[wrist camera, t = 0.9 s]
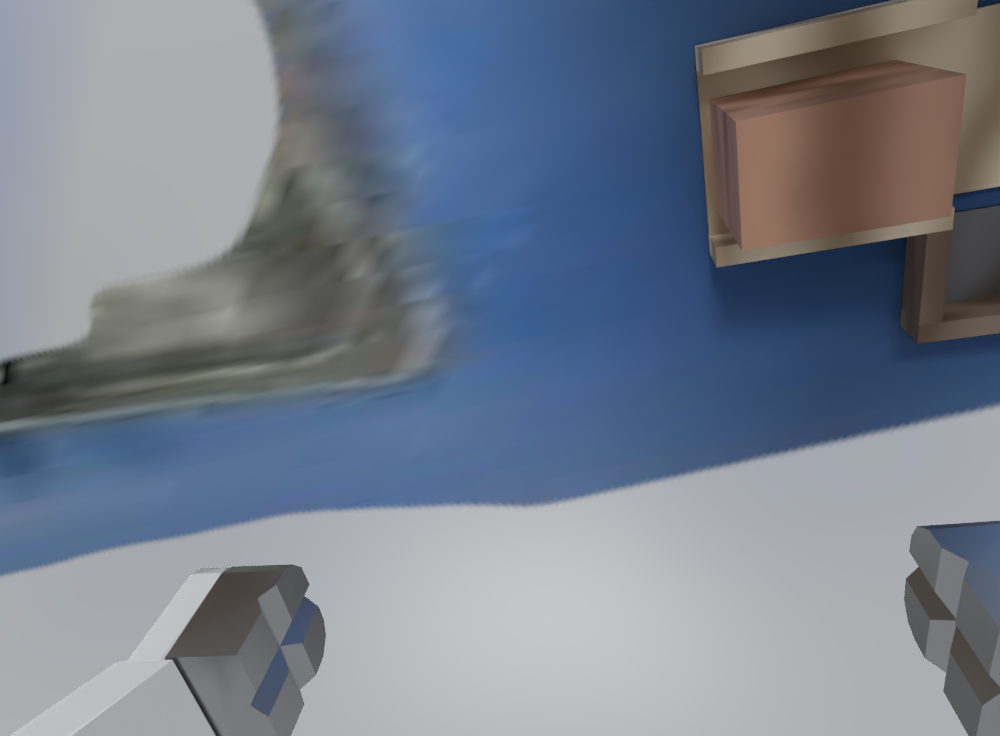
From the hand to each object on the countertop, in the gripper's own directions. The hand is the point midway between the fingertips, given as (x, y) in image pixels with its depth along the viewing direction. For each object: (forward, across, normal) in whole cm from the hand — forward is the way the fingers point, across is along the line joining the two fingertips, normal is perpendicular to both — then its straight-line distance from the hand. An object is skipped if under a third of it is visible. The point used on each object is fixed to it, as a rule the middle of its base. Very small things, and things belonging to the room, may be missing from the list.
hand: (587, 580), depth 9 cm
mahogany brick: (+31, -12, 0) cm, 34 cm away
